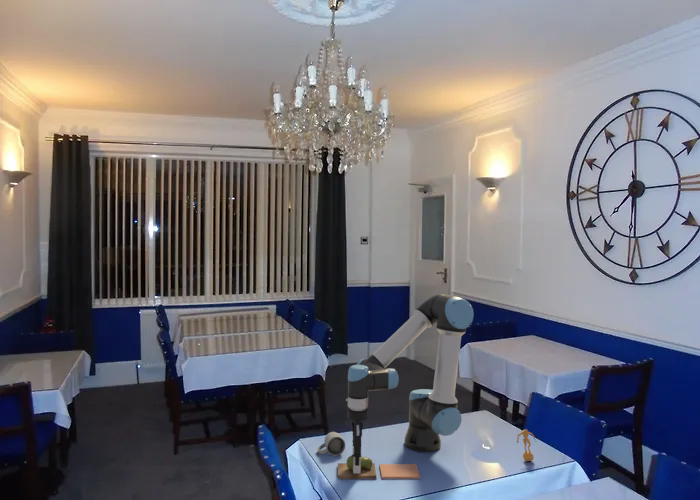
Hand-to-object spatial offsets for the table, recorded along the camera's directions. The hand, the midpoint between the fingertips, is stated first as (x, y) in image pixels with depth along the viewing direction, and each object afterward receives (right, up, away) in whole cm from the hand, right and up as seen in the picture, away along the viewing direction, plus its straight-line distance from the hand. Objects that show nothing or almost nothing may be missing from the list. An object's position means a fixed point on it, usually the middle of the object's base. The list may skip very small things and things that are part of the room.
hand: (356, 468), depth 194 cm
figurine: (+68, -2, +12) cm, 69 cm away
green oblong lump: (+1, -1, 0) cm, 1 cm away
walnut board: (0, -2, 0) cm, 2 cm away
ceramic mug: (-10, -1, +17) cm, 20 cm away
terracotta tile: (+16, -2, +1) cm, 16 cm away
